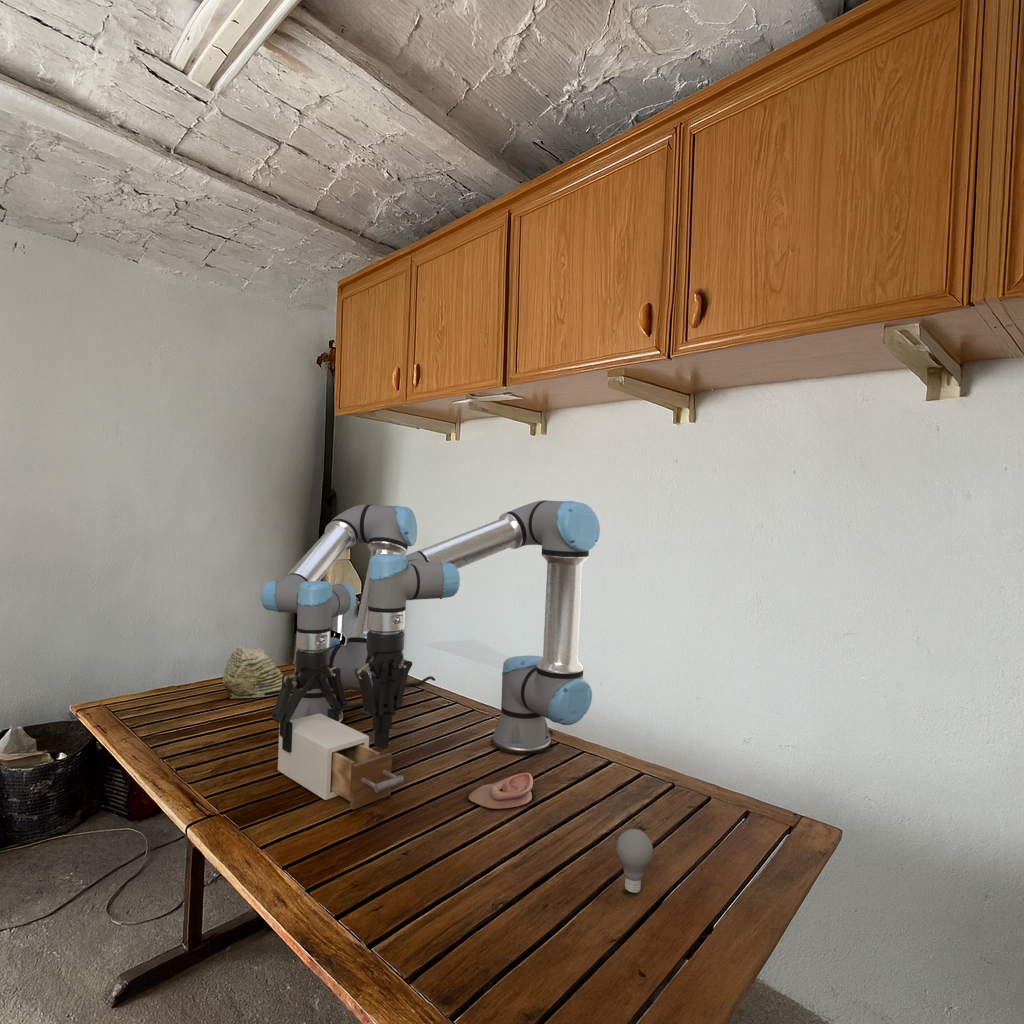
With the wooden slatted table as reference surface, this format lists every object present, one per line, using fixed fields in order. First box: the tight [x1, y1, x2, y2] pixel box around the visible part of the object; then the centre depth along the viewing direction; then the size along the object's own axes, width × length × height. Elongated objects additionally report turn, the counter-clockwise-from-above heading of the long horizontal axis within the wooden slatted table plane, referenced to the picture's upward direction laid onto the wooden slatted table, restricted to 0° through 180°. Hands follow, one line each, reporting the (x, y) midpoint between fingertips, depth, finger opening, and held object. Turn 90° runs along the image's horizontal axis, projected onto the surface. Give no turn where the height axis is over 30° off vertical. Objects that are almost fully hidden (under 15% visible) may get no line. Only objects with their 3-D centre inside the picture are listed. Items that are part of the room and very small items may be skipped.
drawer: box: [330, 744, 405, 811], centre depth 134 cm, size 25×9×9 cm, turn 48°
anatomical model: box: [468, 772, 534, 810], centre depth 137 cm, size 13×4×12 cm
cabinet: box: [277, 713, 370, 801], centre depth 143 cm, size 20×10×11 cm, turn 48°
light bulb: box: [615, 828, 654, 894], centre depth 106 cm, size 6×6×10 cm
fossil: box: [222, 646, 284, 699], centre depth 198 cm, size 9×18×15 cm, turn 132°
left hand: (309, 743), depth 146 cm, fingers open, 11 cm apart
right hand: (381, 746), depth 129 cm, fingers closed
